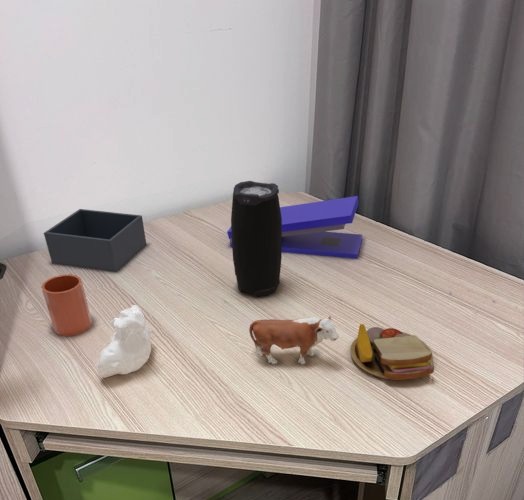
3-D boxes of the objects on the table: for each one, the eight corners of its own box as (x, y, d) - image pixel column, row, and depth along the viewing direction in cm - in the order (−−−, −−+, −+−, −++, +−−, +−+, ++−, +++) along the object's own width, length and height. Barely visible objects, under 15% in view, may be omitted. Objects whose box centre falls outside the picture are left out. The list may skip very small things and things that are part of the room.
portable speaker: (287, 281, 105) (289, 181, 93) (269, 304, 98) (268, 200, 86) (247, 273, 107) (244, 175, 96) (227, 295, 101) (220, 193, 89)
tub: (52, 264, 112) (43, 232, 108) (86, 238, 122) (79, 208, 118) (117, 273, 109) (110, 241, 104) (146, 246, 119) (142, 215, 115)
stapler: (356, 261, 111) (361, 215, 105) (226, 249, 117) (224, 205, 111) (362, 238, 120) (366, 195, 114) (241, 228, 126) (239, 186, 120)
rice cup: (46, 334, 91) (33, 290, 86) (68, 314, 96) (56, 272, 91) (79, 339, 90) (67, 295, 85) (99, 319, 95) (88, 277, 90)
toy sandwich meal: (422, 335, 89) (426, 311, 86) (441, 388, 78) (447, 362, 75) (346, 335, 89) (348, 311, 86) (355, 388, 78) (357, 362, 76)
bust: (112, 399, 81) (143, 362, 73) (72, 366, 80) (99, 325, 72) (154, 354, 90) (185, 317, 82) (118, 324, 89) (146, 284, 81)
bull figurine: (335, 372, 82) (339, 327, 77) (248, 364, 83) (246, 320, 79) (337, 354, 85) (340, 311, 80) (253, 348, 87) (252, 305, 82)
